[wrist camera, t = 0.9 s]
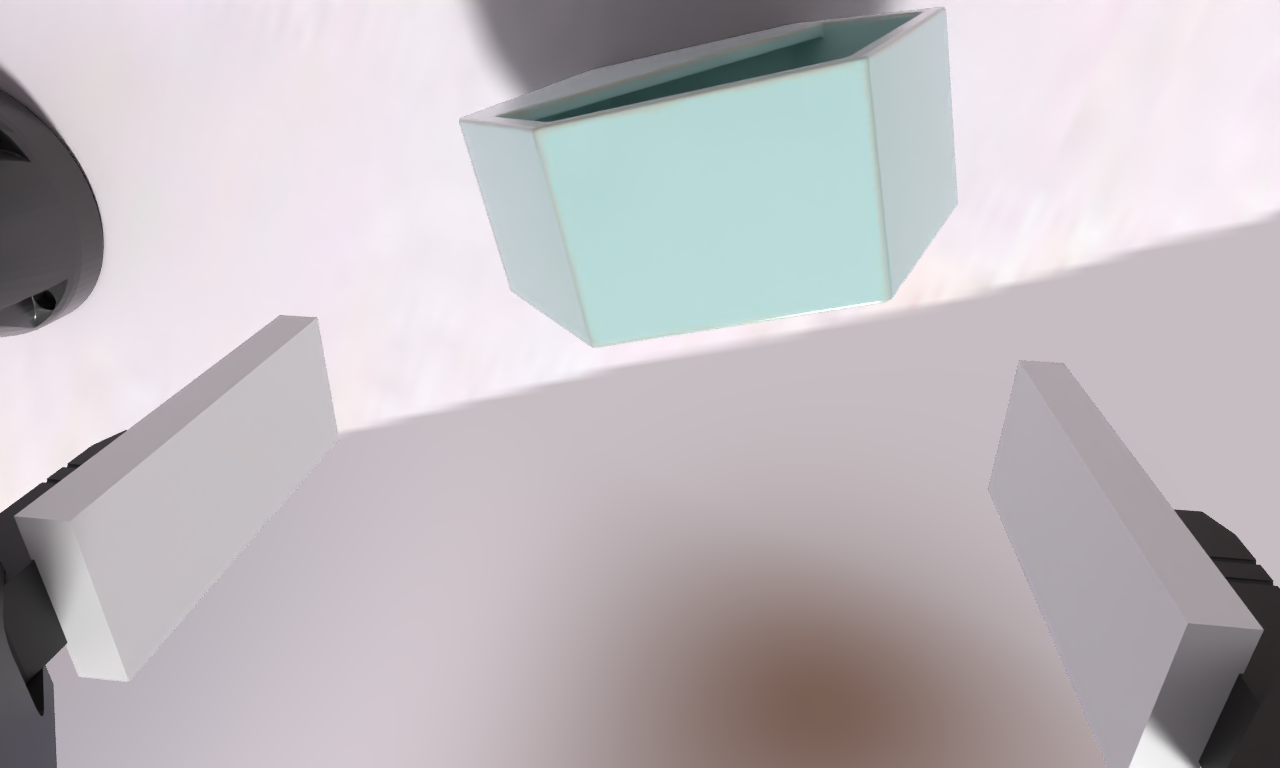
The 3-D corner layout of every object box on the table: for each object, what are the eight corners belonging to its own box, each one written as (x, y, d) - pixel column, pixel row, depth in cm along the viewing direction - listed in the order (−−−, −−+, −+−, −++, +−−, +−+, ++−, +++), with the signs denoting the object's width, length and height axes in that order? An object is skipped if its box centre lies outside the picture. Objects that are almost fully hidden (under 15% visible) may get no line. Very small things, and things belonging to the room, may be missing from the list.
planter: (734, 29, 44) (1074, -13, 27) (758, 174, 48) (1075, 222, 30) (428, 115, 39) (600, 132, 21) (478, 271, 42) (664, 398, 25)
